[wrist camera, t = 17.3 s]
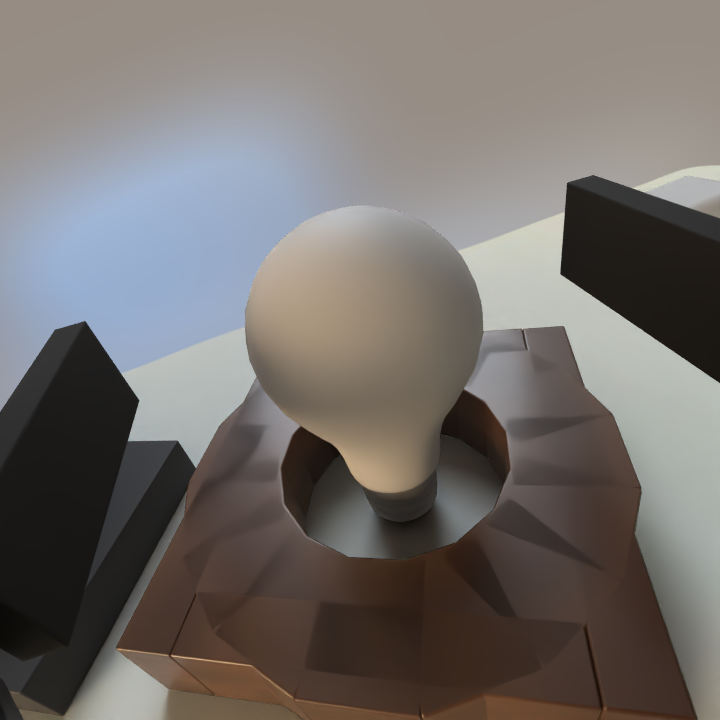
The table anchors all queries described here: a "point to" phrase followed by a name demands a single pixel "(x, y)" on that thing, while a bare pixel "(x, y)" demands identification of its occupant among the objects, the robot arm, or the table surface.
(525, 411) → the bulb stand
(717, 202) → the usb wall charger
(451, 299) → the lightbulb
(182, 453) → the black button base
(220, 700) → the table surface
